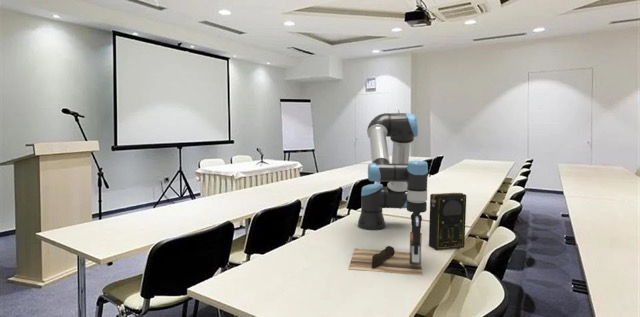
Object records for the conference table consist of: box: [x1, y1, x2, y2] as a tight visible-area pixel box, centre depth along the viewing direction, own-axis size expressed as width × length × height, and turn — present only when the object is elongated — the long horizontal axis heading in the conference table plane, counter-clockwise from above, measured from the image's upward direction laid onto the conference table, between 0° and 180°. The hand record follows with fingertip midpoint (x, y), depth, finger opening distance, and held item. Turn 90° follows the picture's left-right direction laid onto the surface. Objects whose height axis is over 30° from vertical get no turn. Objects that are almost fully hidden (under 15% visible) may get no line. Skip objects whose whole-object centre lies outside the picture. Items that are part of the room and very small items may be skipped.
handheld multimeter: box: [428, 192, 467, 251], centre depth 168 cm, size 16×9×25 cm, turn 105°
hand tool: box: [372, 245, 396, 268], centre depth 150 cm, size 19×4×5 cm, turn 145°
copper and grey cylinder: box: [409, 231, 423, 265], centre depth 144 cm, size 4×4×12 cm
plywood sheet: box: [347, 248, 424, 276], centre depth 151 cm, size 24×28×1 cm
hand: (415, 259), depth 144 cm, fingers closed on copper and grey cylinder, 4 cm apart
